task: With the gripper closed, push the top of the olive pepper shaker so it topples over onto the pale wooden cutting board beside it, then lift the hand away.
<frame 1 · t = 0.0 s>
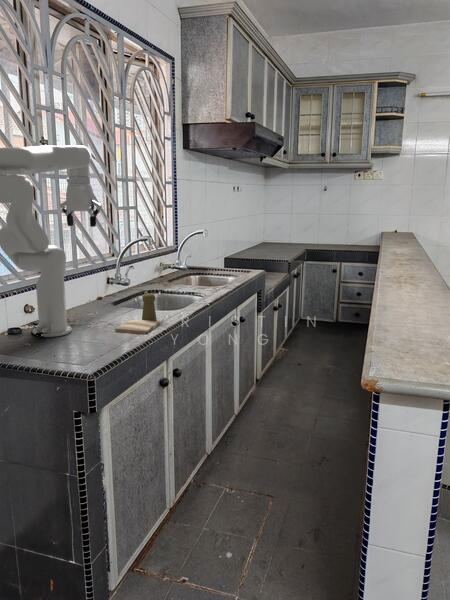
hand: (81, 226, 192), 37 cm above the counter, tool pointing down, fingers open, 9 cm apart
olive pepper shaker: (149, 321, 195), on the counter
cutting board: (138, 327, 185), on the counter
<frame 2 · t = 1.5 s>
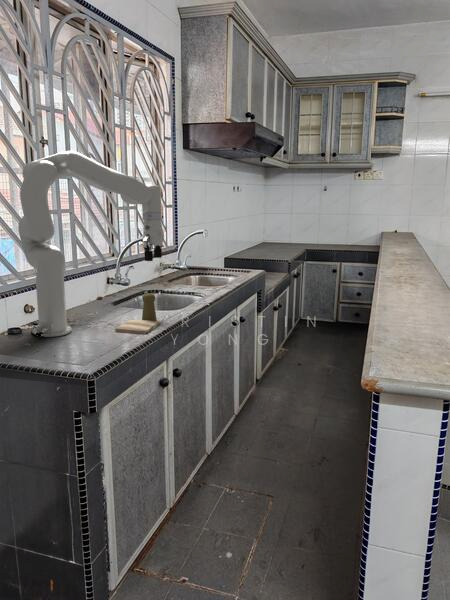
hand: (153, 259, 199), 24 cm above the counter, tool pointing down, fingers open, 9 cm apart
nothing on the counter moved.
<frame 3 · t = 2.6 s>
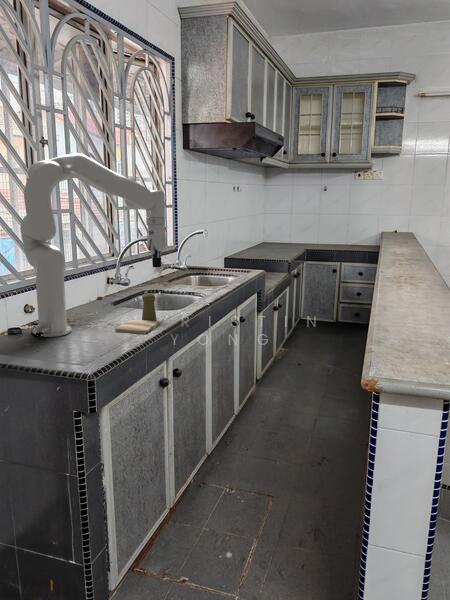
hand: (156, 267, 199), 20 cm above the counter, tool pointing down, fingers closed
nothing on the counter moved.
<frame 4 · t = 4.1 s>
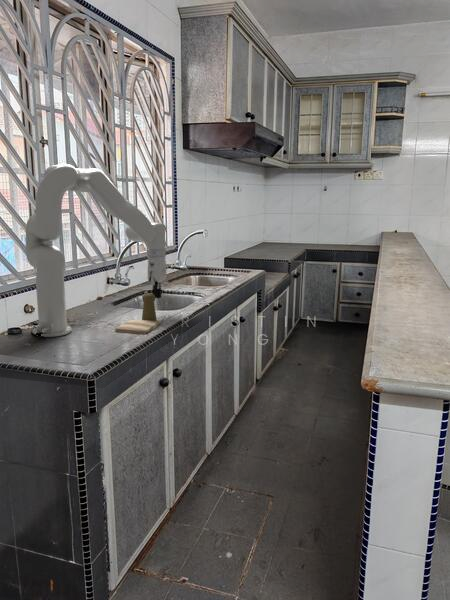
hand: (157, 297, 202), 8 cm above the counter, tool pointing down, fingers closed
nothing on the counter moved.
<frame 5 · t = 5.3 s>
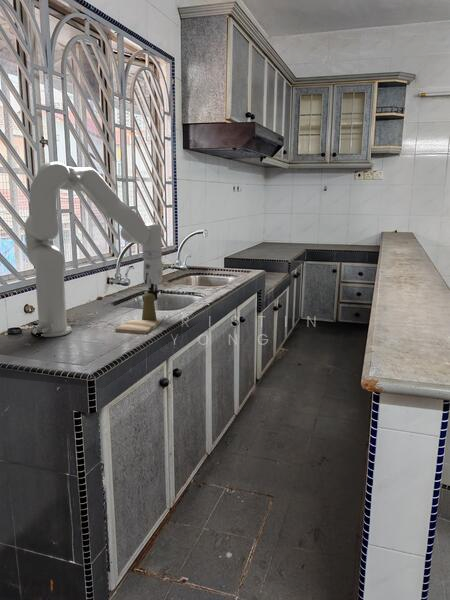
hand: (153, 299, 198), 8 cm above the counter, tool pointing down, fingers closed
olive pepper shaker: (149, 321, 195), on the counter, touching gripper
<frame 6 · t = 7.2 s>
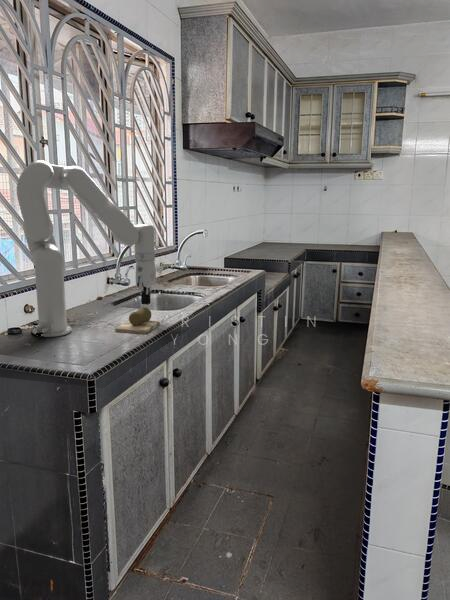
hand: (145, 303, 191), 8 cm above the counter, tool pointing down, fingers closed
olive pepper shaker: (144, 314, 192), point 3 cm above the counter, touching cutting board
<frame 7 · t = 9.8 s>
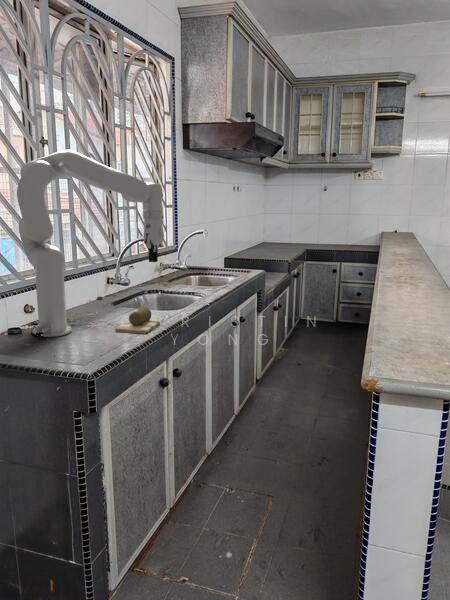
hand: (153, 261, 196), 23 cm above the counter, tool pointing down, fingers closed
nothing on the counter moved.
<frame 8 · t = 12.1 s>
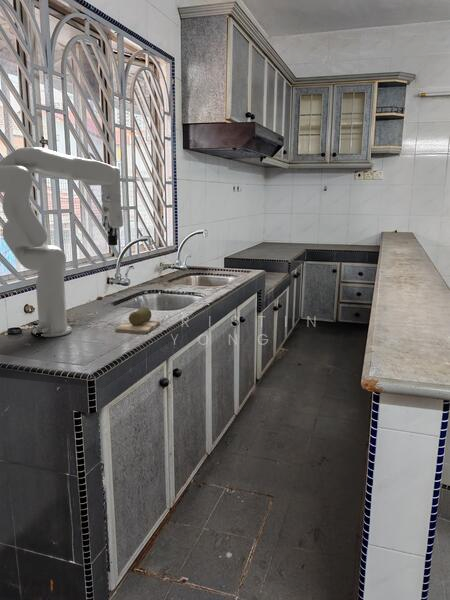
hand: (112, 245, 197), 29 cm above the counter, tool pointing down, fingers closed
nothing on the counter moved.
at the end: olive pepper shaker tilted 86°; olive pepper shaker touching cutting board; olive pepper shaker inside the target area (1.4 cm from its centre), point 3.1 cm above the counter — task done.
